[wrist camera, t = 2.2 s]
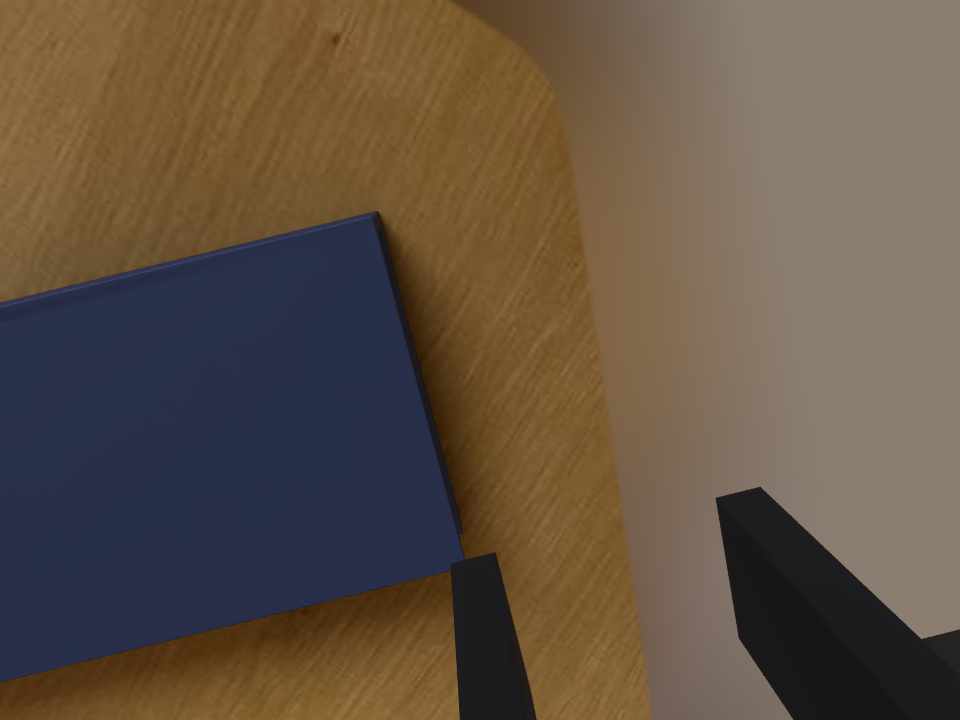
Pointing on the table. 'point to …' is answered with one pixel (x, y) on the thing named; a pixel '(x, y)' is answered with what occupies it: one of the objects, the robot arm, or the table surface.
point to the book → (212, 447)
